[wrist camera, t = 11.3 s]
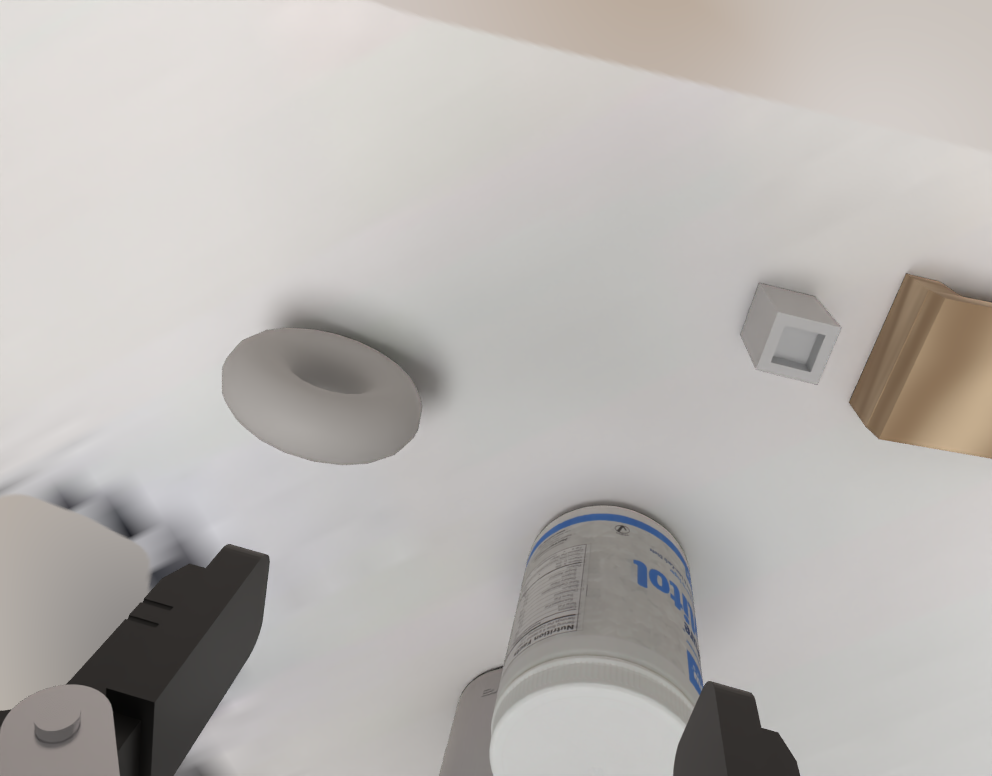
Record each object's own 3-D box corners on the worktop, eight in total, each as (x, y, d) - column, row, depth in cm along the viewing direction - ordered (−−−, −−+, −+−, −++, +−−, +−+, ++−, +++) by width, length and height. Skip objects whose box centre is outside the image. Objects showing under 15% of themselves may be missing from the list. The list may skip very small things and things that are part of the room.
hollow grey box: (740, 334, 39) (756, 369, 35) (759, 282, 38) (778, 311, 34) (794, 348, 39) (817, 385, 35) (815, 296, 38) (841, 327, 33)
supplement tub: (723, 572, 45) (767, 788, 31) (608, 658, 48) (602, 884, 35) (602, 466, 43) (593, 644, 30) (493, 562, 47) (441, 760, 33)
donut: (449, 365, 42) (402, 446, 33) (430, 417, 44) (379, 509, 35) (281, 296, 42) (187, 359, 33) (267, 351, 44) (173, 425, 35)
